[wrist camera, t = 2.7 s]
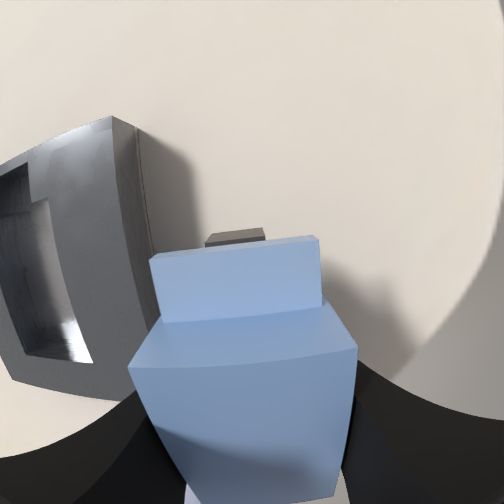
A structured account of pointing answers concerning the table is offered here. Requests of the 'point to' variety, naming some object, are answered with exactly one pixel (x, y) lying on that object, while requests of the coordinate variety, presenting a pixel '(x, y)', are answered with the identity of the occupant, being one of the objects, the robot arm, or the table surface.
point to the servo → (248, 370)
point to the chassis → (76, 262)
